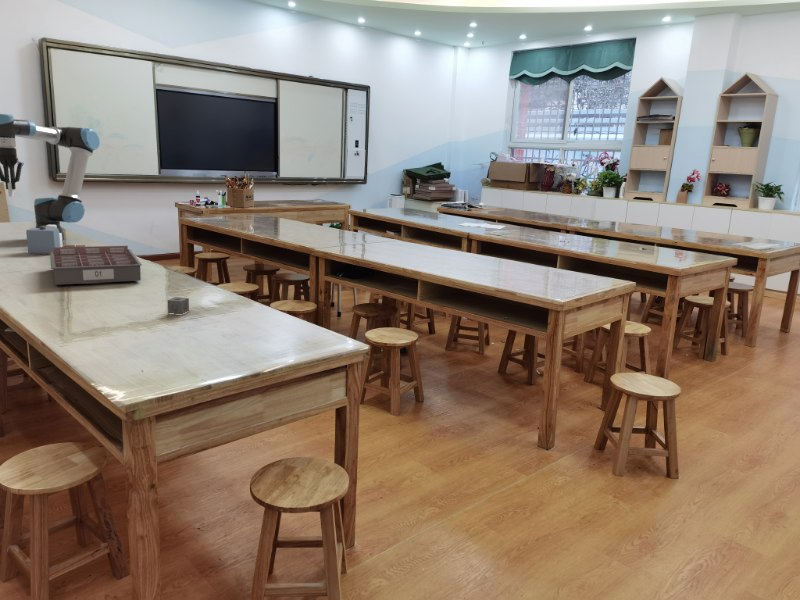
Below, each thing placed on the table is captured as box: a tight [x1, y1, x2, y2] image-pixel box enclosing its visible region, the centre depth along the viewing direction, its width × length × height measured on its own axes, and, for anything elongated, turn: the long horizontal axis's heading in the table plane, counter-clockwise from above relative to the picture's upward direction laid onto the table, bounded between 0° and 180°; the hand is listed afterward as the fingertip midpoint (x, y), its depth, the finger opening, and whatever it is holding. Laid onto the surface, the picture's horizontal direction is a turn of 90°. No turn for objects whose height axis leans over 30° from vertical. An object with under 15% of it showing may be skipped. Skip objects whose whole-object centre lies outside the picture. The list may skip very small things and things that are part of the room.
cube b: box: [75, 244, 86, 247], centre depth 302 cm, size 4×4×4 cm
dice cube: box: [166, 296, 190, 314], centre depth 205 cm, size 5×5×5 cm
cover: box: [25, 226, 60, 254], centre depth 297 cm, size 8×12×13 cm, turn 102°
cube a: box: [63, 244, 76, 247], centre depth 301 cm, size 4×4×4 cm
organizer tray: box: [49, 245, 143, 286], centre depth 253 cm, size 32×40×10 cm
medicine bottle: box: [45, 224, 64, 247], centre depth 313 cm, size 7×7×12 cm
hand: (11, 196), depth 299 cm, fingers closed
